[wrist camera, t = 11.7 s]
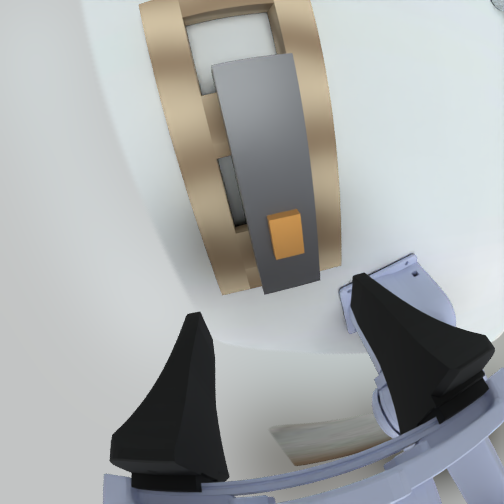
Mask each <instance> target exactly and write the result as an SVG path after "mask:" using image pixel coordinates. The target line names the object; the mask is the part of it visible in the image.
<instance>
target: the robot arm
mask: <svg viewBox="0 0 504 504" xmlns="http://www.w3.org/2000/svg"><path fill="white" fill-rule="evenodd" d="M349 289H350V290H349ZM339 293H340V298H341V302H342V306H343V311H344V315H345V320H346V325H347V329H348V332H349V333H350V334H352V333H355V332H358V334H359V336H360V338H361V340H362V342H363V344H364V346H365V348H366V350H367V352H368V354H369V356H370V358H371V360H372V362H373V364H374V366H375V368H376V370H377V372H378V374H379V376H377V377H376V378H375V379H374V380H375V383H376V385H377V387H378V388H376V389H375V391H374V392H373V396H372V408H373V413H374V416H375V418H376V420H377V422H378V424H379V426H380V427H381V429H382V430H383V431H384V432H385V433H386V434H387V435H388V436H390V437H392V438H393V439H391V440H389V441H387V442H385V443H382V444H380V445H377V446H375V447H372V448H370V449H367V450H365V451H362V452H359V453H357V454H354V455H351V456H348V457H345V458H342V459H339V460H336V461H333V462H329V463H326V464H322V465H319V466H315V467H311V468H307V469H303V470H299V471H295V472H290V473H285V474H280V475H274V476H269V477H263V478H256V479H249V480H240V481H229V482H225V481H226V480H227V479H228V478H229V473H228V470H227V465H226V461H225V456H224V452H223V447H222V442H221V437H220V430H219V425H218V417H217V411H216V398H215V354H214V346H213V339H212V337H211V335H210V332H209V330H208V328H207V326H206V323H205V321H204V319H203V317H202V314H201V312H195V313H190V314H187V316H186V318H185V321H184V323H183V326H182V329H181V331H180V334H179V336H178V339H177V341H176V343H175V346H174V348H173V350H172V353H171V355H170V357H169V359H168V361H167V363H166V365H165V367H164V369H163V371H162V372H161V374H160V376H159V378H158V379H157V381H156V383H155V384H154V386H153V387H152V389H151V390H150V392H149V393H148V395H147V396H146V398H145V399H144V400H143V402H142V403H141V404H140V406H139V407H138V408H137V409H136V411H135V412H134V413H133V414H132V415H131V417H130V418H129V419H128V420H127V421H126V422H125V423H124V424H123V425H122V426H121V427H120V428H119V429H118V430H117V431H116V432H115V433H114V434H113V435H112V440H111V449H110V462H111V463H112V464H113V465H115V466H117V467H119V468H122V469H124V470H126V471H129V472H131V473H132V478H130V477H125V476H118V475H111V474H104V484H103V486H104V487H103V504H442V502H441V499H440V496H439V493H438V491H437V488H436V485H435V482H434V480H433V477H434V476H436V475H437V474H439V473H440V472H442V471H443V470H445V469H446V468H447V470H448V471H449V473H450V475H451V476H452V478H453V480H454V481H455V483H456V485H457V487H458V488H459V490H460V492H461V494H462V495H463V497H464V499H465V501H466V502H467V504H504V467H503V465H502V463H501V461H500V459H499V457H498V455H497V453H496V451H495V449H494V447H493V445H492V443H491V441H490V440H489V438H488V436H489V435H490V434H491V433H492V432H493V431H494V430H495V429H497V428H498V427H499V426H500V425H501V424H502V423H503V422H504V368H503V367H502V368H501V369H499V370H498V371H497V372H496V373H494V374H493V375H492V376H491V377H489V378H487V377H486V375H485V372H484V370H483V368H484V367H485V365H486V364H487V363H488V361H489V360H490V359H491V357H492V356H493V354H494V352H495V348H494V346H493V345H492V343H491V342H490V341H489V339H488V338H487V337H486V335H482V334H478V333H474V332H470V331H466V330H463V329H460V328H457V327H456V316H455V312H454V309H453V306H452V304H451V302H450V300H449V298H448V297H447V295H446V294H445V293H444V291H443V290H442V289H441V288H440V287H439V286H438V285H437V283H436V282H435V281H434V280H433V279H432V278H431V277H430V275H429V274H428V273H427V272H426V271H425V270H424V269H423V268H422V267H421V266H420V265H419V264H418V262H417V256H416V255H415V254H412V255H410V256H408V257H406V258H404V259H402V260H400V261H398V262H396V263H394V264H392V265H390V266H388V267H386V268H384V269H382V270H380V271H378V272H376V273H374V274H372V275H369V276H368V275H367V274H365V273H361V274H357V275H354V276H353V281H352V284H350V285H348V286H346V287H343V288H342V289H341V290H340V292H339ZM401 450H404V451H405V452H403V453H401V454H399V455H397V456H395V458H394V459H392V460H391V461H389V462H387V463H386V464H384V469H385V471H384V472H381V473H379V474H376V475H374V476H371V477H369V478H366V479H363V480H361V481H358V482H355V483H352V484H349V485H346V486H343V487H340V488H337V489H333V490H330V491H327V492H323V493H320V494H316V495H312V496H308V497H304V498H299V499H295V500H290V501H286V502H280V503H275V498H273V497H268V496H266V495H263V496H252V497H238V498H236V497H234V496H237V495H247V494H256V493H262V492H269V491H275V490H281V489H286V488H291V487H296V486H300V485H305V484H309V483H313V482H317V481H320V480H324V479H328V478H331V477H334V476H338V475H341V474H344V473H347V472H350V471H353V470H355V469H358V468H361V467H364V466H366V465H369V464H372V463H374V462H376V461H379V460H381V459H384V458H386V457H388V456H391V455H393V454H395V453H397V452H399V451H401Z"/></svg>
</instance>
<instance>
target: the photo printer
mask: <svg viewBox="0 0 504 504" xmlns="http://www.w3.org/2000/svg"><path fill="white" fill-rule="evenodd" d="M492 2H493V4H494V5H495V7H496V8H498V9H499V10H501V11H504V0H492Z"/></svg>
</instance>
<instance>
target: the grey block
mask: <svg viewBox="0 0 504 504" xmlns="http://www.w3.org/2000/svg"><path fill="white" fill-rule="evenodd" d="M211 66H212V76H213V81H214V85H215V89H216V94H217V98H218V102H219V106H220V111H221V115H222V119H223V123H224V128H225V132H226V136H227V141H228V145H229V149H230V153H231V158H232V162H233V166H234V171H235V175H236V179H237V183H238V188H239V192H240V196H241V201H242V205H243V209H244V214H245V218H246V222H247V226H248V231H249V235H250V239H251V244H252V248H253V252H254V257H255V261H256V265H257V269H258V272H259V276H260V280H261V284H262V287H263V291H264V295H265V294H269V293H273V292H277V291H281V290H285V289H289V288H293V287H297V286H300V285H304V284H308V283H312V282H315V281H319V280H320V266H319V249H318V234H317V221H316V210H315V199H314V189H313V180H312V171H311V163H310V155H309V147H308V140H307V133H306V126H305V119H304V113H303V107H302V101H301V95H300V89H299V84H298V78H297V73H296V68H295V63H294V58H293V53H287V54H277V55H268V56H261V57H254V58H247V59H241V60H236V61H230V62H225V63H220V64H216V65H211Z"/></svg>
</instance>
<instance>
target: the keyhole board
mask: <svg viewBox="0 0 504 504" xmlns="http://www.w3.org/2000/svg"><path fill="white" fill-rule="evenodd" d="M139 9H140V14H141V19H142V23H143V28H144V33H145V37H146V42H147V46H148V51H149V55H150V59H151V63H152V68H153V72H154V76H155V80H156V84H157V88H158V92H159V95H160V99H161V103H162V107H163V111H164V114H165V118H166V122H167V125H168V129H169V132H170V136H171V139H172V143H173V146H174V150H175V153H176V157H177V160H178V163H179V167H180V170H181V173H182V177H183V180H184V183H185V186H186V190H187V193H188V196H189V199H190V202H191V206H192V209H193V212H194V215H195V218H196V221H197V224H198V227H199V230H200V233H201V236H202V239H203V242H204V245H205V248H206V251H207V254H208V257H209V260H210V262H211V265H212V268H213V271H214V274H215V277H216V280H217V282H218V285H219V288H220V291H221V293H222V295H226V294H230V293H235V292H239V291H243V290H247V289H252V288H256V287H260V286H262V284H261V280H260V276H259V272H258V269H257V265H256V261H255V257H254V252H253V248H252V244H251V239H250V235H249V231H248V226H247V224H245V225H241V226H236V227H235V225H234V221H233V217H232V213H231V210H230V206H229V202H228V198H227V194H226V190H225V186H224V182H223V178H222V174H221V170H220V166H219V162H218V158H222V157H226V156H230V155H231V153H230V149H229V145H228V141H227V136H226V132H225V128H224V123H223V119H222V115H221V111H220V106H219V102H218V98H217V94H216V92H215V93H211V94H207V95H203V96H202V94H201V90H200V85H199V81H198V77H197V73H196V69H195V65H194V60H193V56H192V52H191V48H190V43H189V39H188V35H187V31H186V26H188V25H192V24H196V23H200V22H205V21H210V20H215V19H220V18H225V17H231V16H238V15H245V14H253V13H263V12H267V14H268V18H269V22H270V26H271V30H272V34H273V39H274V43H275V48H276V52H277V54H287V53H293V58H294V63H295V68H296V73H297V78H298V84H299V89H300V95H301V101H302V107H303V113H304V119H305V126H306V133H307V140H308V147H309V155H310V163H311V171H312V180H313V189H314V199H315V210H316V221H317V234H318V249H319V266H320V271H322V270H326V269H330V268H333V267H337V266H341V212H340V191H339V175H338V162H337V151H336V141H335V131H334V123H333V115H332V107H331V100H330V93H329V87H328V81H327V75H326V69H325V64H324V58H323V53H322V48H321V44H320V39H319V34H318V30H317V26H316V21H315V17H314V13H313V9H312V6H311V2H310V0H151V1H148V2H145V3H142V4H139Z"/></svg>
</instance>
